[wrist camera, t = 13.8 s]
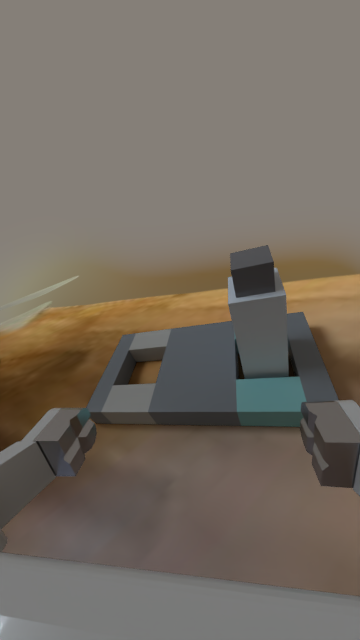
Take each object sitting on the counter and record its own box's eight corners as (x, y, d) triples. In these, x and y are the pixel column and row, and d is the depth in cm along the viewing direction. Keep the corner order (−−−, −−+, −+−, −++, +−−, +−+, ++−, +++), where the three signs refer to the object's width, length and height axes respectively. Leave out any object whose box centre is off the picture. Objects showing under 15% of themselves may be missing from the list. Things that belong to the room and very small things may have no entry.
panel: (95, 423, 26) (83, 412, 24) (130, 346, 35) (122, 335, 33) (339, 427, 18) (343, 411, 17) (302, 327, 27) (302, 311, 26)
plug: (246, 388, 23) (222, 276, 15) (244, 358, 26) (222, 252, 18) (288, 386, 22) (285, 263, 14) (281, 355, 25) (275, 240, 17)
